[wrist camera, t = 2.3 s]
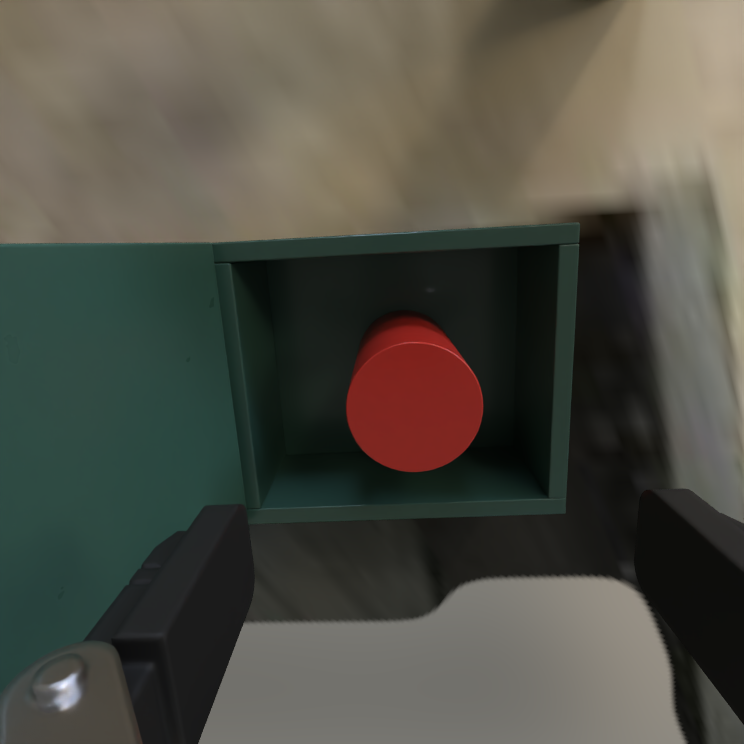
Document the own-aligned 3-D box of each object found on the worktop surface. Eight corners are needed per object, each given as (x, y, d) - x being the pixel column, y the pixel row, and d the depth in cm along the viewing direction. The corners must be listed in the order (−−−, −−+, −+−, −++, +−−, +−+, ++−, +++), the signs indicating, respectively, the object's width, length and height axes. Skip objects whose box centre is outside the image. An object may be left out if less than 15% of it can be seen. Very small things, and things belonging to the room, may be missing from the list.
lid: (-828, 247, 4) (-849, 252, 4) (-274, 1100, 7) (-304, 1077, 8) (212, 242, 19) (195, 243, 19) (250, 531, 22) (234, 529, 22)
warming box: (529, 229, 25) (581, 222, 19) (523, 452, 28) (565, 514, 22) (252, 244, 26) (207, 242, 19) (277, 461, 29) (245, 525, 22)
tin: (355, 312, 26) (341, 345, 17) (449, 307, 26) (483, 338, 17) (361, 401, 27) (350, 475, 18) (450, 397, 27) (483, 470, 18)
